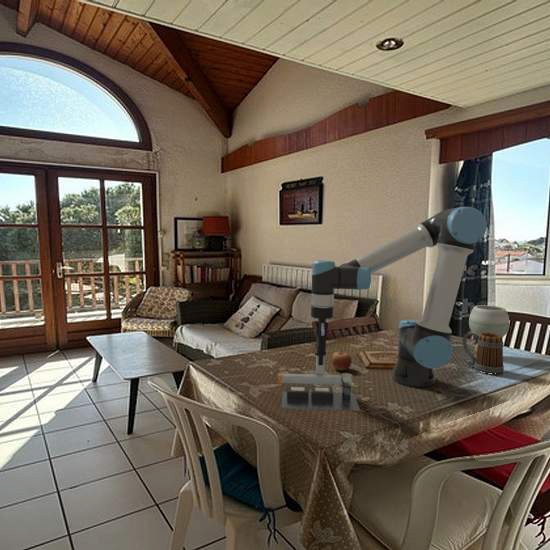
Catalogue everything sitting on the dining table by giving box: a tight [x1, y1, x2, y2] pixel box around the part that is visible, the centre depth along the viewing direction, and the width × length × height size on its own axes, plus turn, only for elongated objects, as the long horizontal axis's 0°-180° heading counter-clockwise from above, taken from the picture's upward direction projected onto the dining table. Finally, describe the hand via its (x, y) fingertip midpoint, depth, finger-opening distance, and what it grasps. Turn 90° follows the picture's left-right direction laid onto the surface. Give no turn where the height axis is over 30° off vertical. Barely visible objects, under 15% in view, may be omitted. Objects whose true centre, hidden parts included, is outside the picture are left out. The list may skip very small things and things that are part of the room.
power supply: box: [310, 386, 334, 400], centre depth 130 cm, size 7×5×2 cm
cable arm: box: [277, 372, 353, 387], centre depth 130 cm, size 24×4×3 cm, turn 87°
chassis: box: [281, 385, 361, 412], centre depth 127 cm, size 24×13×5 cm, turn 87°
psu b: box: [286, 385, 309, 400], centre depth 130 cm, size 7×5×2 cm
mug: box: [462, 331, 505, 375], centre depth 161 cm, size 16×11×15 cm
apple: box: [331, 349, 352, 371], centre depth 160 cm, size 8×8×8 cm
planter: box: [468, 304, 510, 352], centre depth 179 cm, size 16×16×22 cm
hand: (320, 373), depth 137 cm, fingers closed
